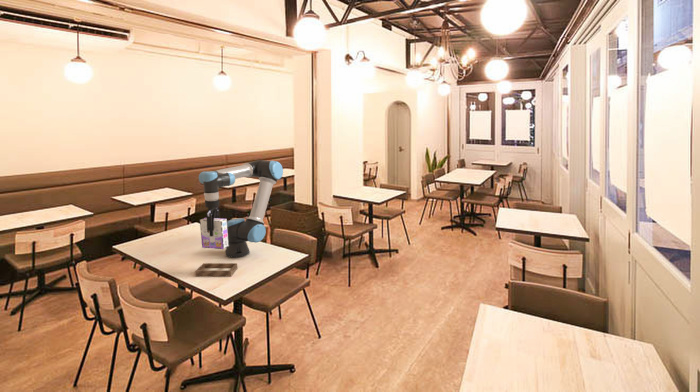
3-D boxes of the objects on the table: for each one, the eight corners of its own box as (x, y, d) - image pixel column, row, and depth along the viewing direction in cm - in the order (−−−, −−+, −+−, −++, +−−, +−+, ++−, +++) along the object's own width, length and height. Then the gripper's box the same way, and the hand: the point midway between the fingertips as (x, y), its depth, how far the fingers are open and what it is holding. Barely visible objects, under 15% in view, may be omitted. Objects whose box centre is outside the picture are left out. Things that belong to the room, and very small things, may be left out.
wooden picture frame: (195, 276, 221) (195, 270, 221) (204, 268, 233) (203, 263, 232) (231, 276, 221) (230, 271, 220) (237, 268, 233) (237, 263, 232)
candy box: (229, 246, 225) (227, 218, 222) (223, 249, 220) (221, 221, 216) (207, 244, 229) (205, 217, 225) (201, 247, 223) (199, 219, 220)
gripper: (211, 196, 228) (214, 234, 233) (198, 203, 209) (201, 245, 214) (224, 196, 228) (227, 234, 233) (212, 203, 209) (215, 245, 213)
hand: (214, 239), depth 223 cm, fingers closed on candy box, 7 cm apart
